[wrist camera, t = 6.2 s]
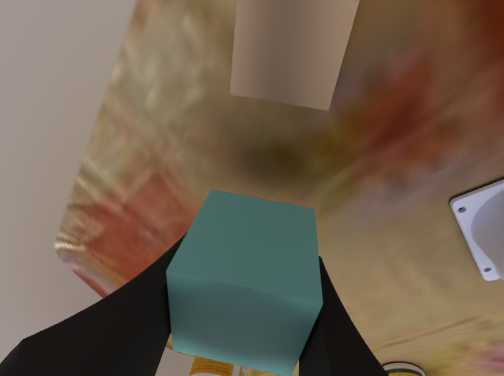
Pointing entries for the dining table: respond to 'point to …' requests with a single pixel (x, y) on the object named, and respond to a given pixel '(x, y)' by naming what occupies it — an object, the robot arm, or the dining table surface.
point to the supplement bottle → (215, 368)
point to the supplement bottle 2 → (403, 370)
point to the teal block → (246, 283)
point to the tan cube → (290, 49)
